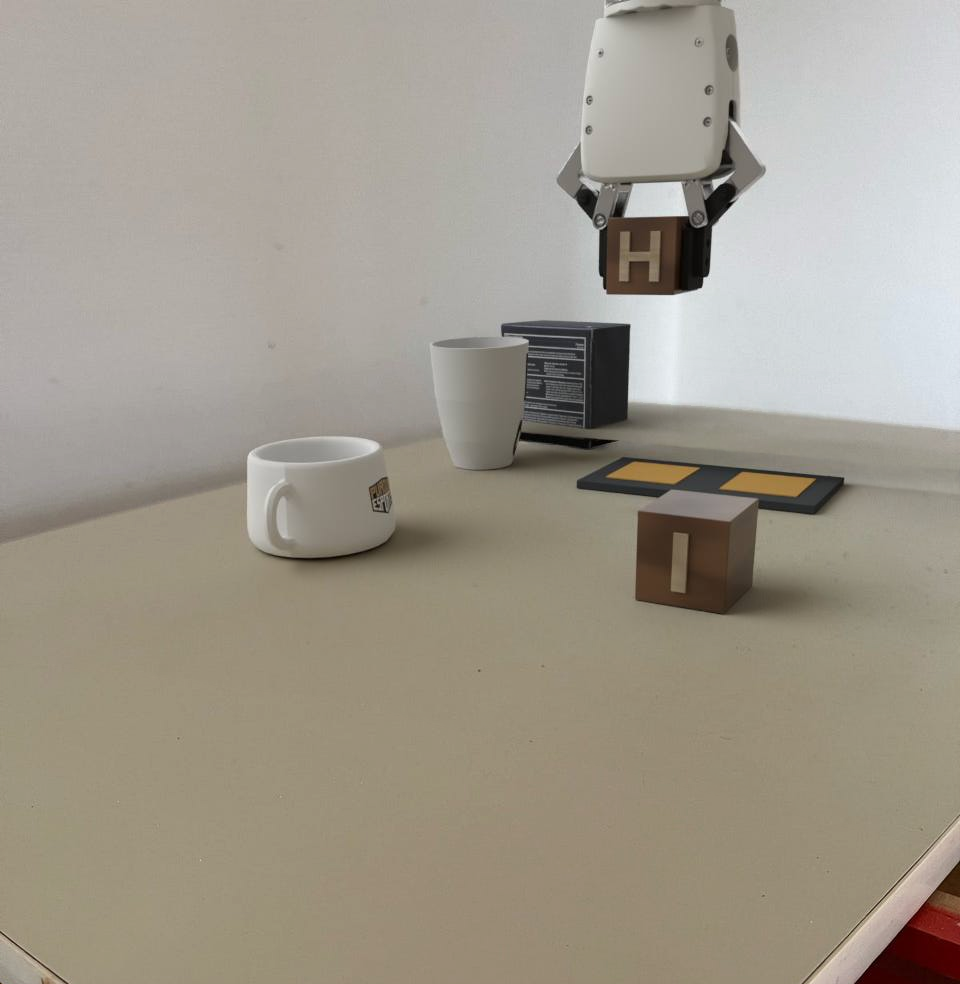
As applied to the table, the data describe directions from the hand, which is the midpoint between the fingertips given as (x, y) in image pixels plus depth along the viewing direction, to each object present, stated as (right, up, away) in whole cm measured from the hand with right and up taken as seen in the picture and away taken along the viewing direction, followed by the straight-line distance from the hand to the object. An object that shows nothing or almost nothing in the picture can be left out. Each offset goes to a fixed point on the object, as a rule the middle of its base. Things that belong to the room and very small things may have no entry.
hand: (652, 286), depth 73 cm
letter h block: (0, 0, 0) cm, 0 cm away
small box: (-4, -6, +24) cm, 25 cm away
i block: (0, -23, -16) cm, 28 cm away
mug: (-23, -19, -6) cm, 30 cm away
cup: (-12, -10, +15) cm, 22 cm away
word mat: (+5, -14, +5) cm, 15 cm away
